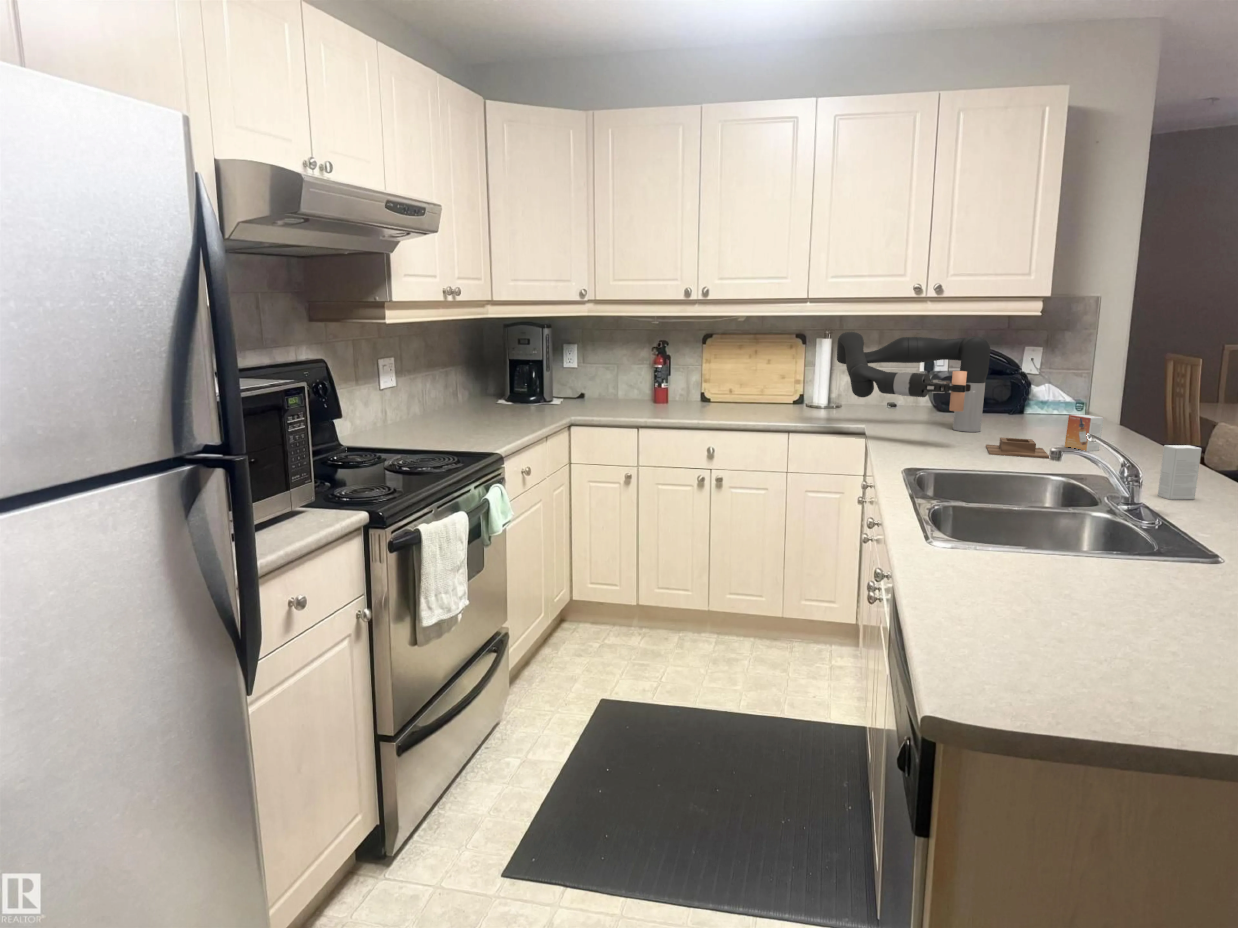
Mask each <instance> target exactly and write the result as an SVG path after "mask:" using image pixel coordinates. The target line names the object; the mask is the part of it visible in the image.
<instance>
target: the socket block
mask: <svg viewBox="0 0 1238 928" xmlns="http://www.w3.org/2000/svg"><path fill="white" fill-rule="evenodd" d="M985 448H986V450H987V453H988V455H990V456H991V455H992V456H993V455H994V456H1004V455H1005V456H1009V457H1019V456H1020V458H1021V457H1022V458H1036V459H1049V456H1050V455H1049V454H1048V452H1047V451H1046V450H1045V449H1044V448H1043V447H1037V443H1036V442H1035V440H1034V439H1031V438H1030V439H1029V438H1016V437H1015V438H1014V437H999V444H998V445H997V444H985ZM1049 460H1050V459H1049Z"/></svg>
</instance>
